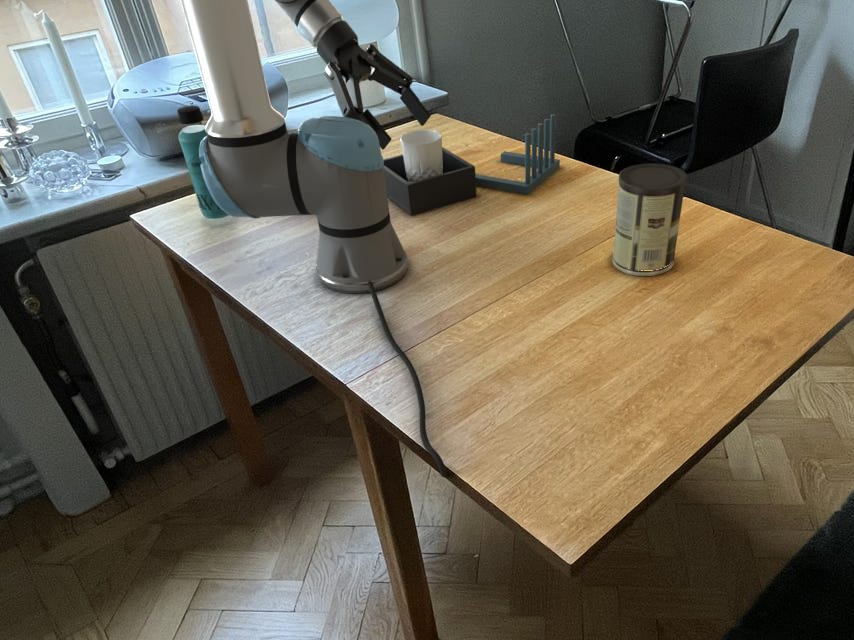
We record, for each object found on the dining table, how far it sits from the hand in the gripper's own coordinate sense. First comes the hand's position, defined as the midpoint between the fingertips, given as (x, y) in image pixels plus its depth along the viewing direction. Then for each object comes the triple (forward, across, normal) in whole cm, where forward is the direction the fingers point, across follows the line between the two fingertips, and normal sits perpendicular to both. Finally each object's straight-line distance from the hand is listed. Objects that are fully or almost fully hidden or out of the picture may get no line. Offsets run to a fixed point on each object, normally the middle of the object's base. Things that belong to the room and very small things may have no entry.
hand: (407, 132), depth 138 cm
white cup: (+10, 0, -5) cm, 11 cm away
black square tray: (+10, 0, -6) cm, 12 cm away
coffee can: (+45, +9, +28) cm, 54 cm away
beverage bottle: (-12, +26, -28) cm, 40 cm away
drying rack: (+18, -15, +2) cm, 24 cm away
